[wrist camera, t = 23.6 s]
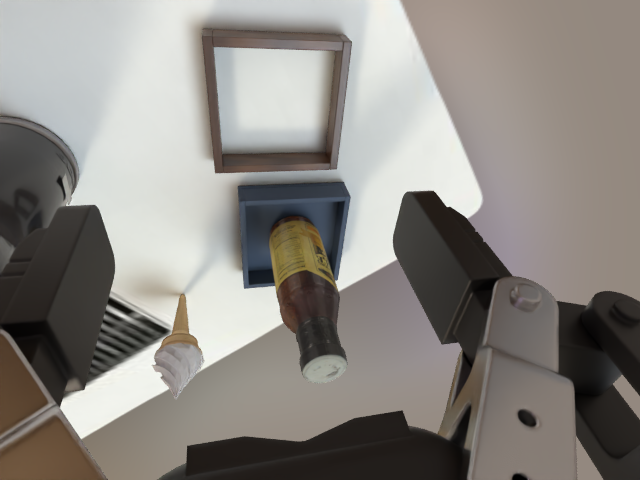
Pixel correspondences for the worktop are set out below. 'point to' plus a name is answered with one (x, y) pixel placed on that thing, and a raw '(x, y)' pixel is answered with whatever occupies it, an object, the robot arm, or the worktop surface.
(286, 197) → the slate tray
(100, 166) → the worktop surface
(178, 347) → the ice cream cone
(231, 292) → the worktop surface
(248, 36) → the walnut frame
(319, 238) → the sauce bottle
